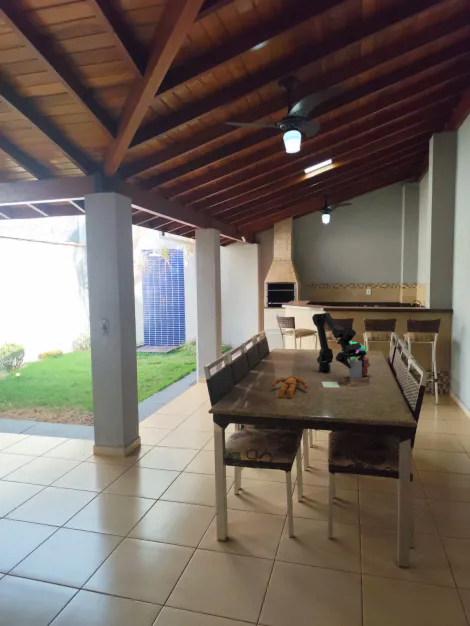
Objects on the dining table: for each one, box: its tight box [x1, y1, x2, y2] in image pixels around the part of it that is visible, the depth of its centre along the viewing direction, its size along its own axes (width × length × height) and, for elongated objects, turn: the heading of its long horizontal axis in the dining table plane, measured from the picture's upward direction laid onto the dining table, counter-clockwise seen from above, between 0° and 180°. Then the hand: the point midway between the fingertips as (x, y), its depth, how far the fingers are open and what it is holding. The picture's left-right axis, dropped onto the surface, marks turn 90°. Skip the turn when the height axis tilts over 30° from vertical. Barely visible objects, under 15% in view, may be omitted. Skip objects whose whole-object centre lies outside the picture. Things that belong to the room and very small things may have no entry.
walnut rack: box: [341, 375, 370, 388], centre depth 244 cm, size 9×12×4 cm
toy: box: [271, 375, 308, 400], centre depth 232 cm, size 20×7×30 cm
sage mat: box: [321, 381, 340, 388], centre depth 242 cm, size 12×9×1 cm
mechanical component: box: [362, 356, 371, 378], centre depth 262 cm, size 12×10×10 cm
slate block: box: [348, 357, 363, 382], centre depth 243 cm, size 5×5×15 cm
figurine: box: [349, 340, 368, 360], centre depth 316 cm, size 18×14×20 cm
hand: (357, 367), depth 241 cm, fingers open, 9 cm apart
